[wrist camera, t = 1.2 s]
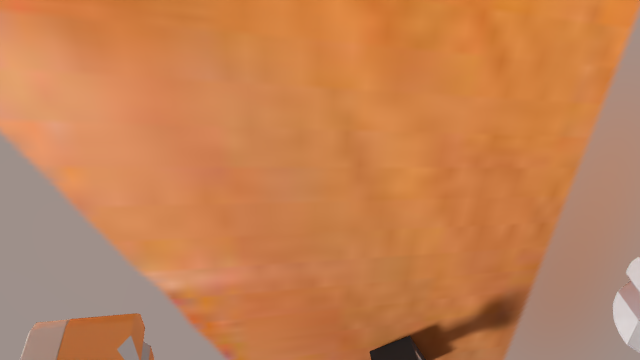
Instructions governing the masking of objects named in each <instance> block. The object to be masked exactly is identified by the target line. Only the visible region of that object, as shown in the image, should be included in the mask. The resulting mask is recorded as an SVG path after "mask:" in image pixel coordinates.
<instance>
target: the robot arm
mask: <svg viewBox="0 0 640 360" xmlns="http://www.w3.org/2000/svg"><path fill="white" fill-rule="evenodd" d="M626 274H627V276H628V278H629V280H630V281H629V282H628V283H627V284H626V285H625V286H623V287H622V288H621V289H620V290H618V292H617V294H616V297H615V300H614V302H613V316H614V322H615V324H616V327H617V329H618V332H619V334H620V335H621V337H622V338H623V340H624V341H625V343H626V344H627V345H628V346H629V347H631V348H633V349H635V350H636V351H638V352H639V353H640V257H637V258H636V259H635V260H633V261H632V262H631V263H630V265H629V267H628V269H627V271H626ZM144 331H145V327H144V324H143V321H142V318H141V315H140V314H124V315H113V316H102V317H91V318H90V317H89V318H79V319H70V320H60V321H49V322H39V323H36V324H35V325H34V327H33V328H32V329H31V330H30V332H29V334H28V337H27V340H26V343H25V346H24V349H23V352H22V355H21V358H20V360H154V357H153V353H152V349H151V346H150V345H148V344H147V343H145V342H144V341H143V339H144Z"/></svg>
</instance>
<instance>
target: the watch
mask: <svg viewBox="0 0 640 360" xmlns="http://www.w3.org/2000/svg"><path fill="white" fill-rule="evenodd" d="M370 356H371V360H426V359H425V358H424V356H423V355H422V353H421V352H420V351H419V349H418V348H417V346H416V345H415V343H414V342H413V340H412V339H411V337H410V336H408V337H406V338H403V339H401V340H398V341H395V342H393V343H390V344H388V345H385V346H383V347H380V348H378V349H375V350H373V351H370Z"/></svg>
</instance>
